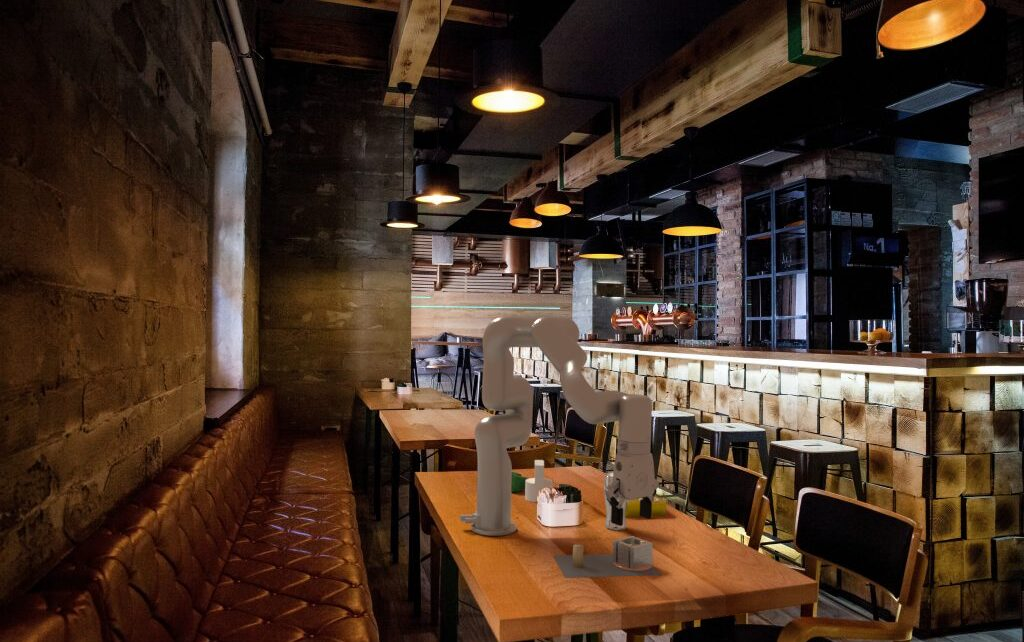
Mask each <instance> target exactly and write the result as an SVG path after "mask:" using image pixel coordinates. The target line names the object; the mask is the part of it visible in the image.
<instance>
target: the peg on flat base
mask: <svg viewBox="0 0 1024 642" xmlns="http://www.w3.org/2000/svg"><path fill="white" fill-rule="evenodd" d="M629 545H632V546H636V545H638V544H635V543H629ZM613 564H614V565H615V566H616V567H618V568H620V569H623V570H628V571H646V570H649V569H651V568H652V565H653V564H652V565H649V566H646V567H643V568H639V569H636V570H631V569H630V568H627V567H624V566H622V565H619V564H618V563H614V562H613Z"/></svg>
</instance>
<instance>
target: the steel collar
mask: <svg viewBox="0 0 1024 642" xmlns="http://www.w3.org/2000/svg"><path fill="white" fill-rule="evenodd" d="M629 543H635V544H638V545H636V546H632V545H629ZM653 545H654V544H653V542H651V541H647V540H646V539H642V538H640V537H636V536H634V535H628V536H626V537H625V536H624V537H622V538H618V539H614V540H612V554H613V562H614V563H618V564H619V565H622V566H624V567H627V568H630V569H631V570H636V569H639V568H643V567H646V566H649V565H653V548H654V547H653Z"/></svg>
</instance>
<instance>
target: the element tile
mask: <svg viewBox="0 0 1024 642" xmlns="http://www.w3.org/2000/svg"><path fill="white" fill-rule="evenodd" d="M640 499H642V498H639V499H634V500H628V501H627V506H626V512H625V518H642V517H641V516H640ZM665 516H667V501H664V499H662V498H660V497H659V496H658V495H657V494H655V496H654V501H653V502H652V517H665Z"/></svg>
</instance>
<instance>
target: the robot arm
mask: <svg viewBox="0 0 1024 642" xmlns="http://www.w3.org/2000/svg"><path fill="white" fill-rule="evenodd" d="M579 339H580V329H579V327H578V325H577V323H576V322H575V321H574V320H573V319H571V318H569V317H566V316H565V317H564V316H551V315H550V316H548V315H547V316H541V317H534V316H533V317H530V316H517V315H515V316H514V315H513V316H512V315H511V316H510V315H505V316H499V317H497V318H494V319H493V320H491V322H489V323H488V324H487V326H486V327H485V329H484V331H483V335H482V352H483V367H482V384H481V386H482V388H481V400H482V404H483V405H484V408H486V410H489V411H494V412H495V411H498V412H499V411H505V413H502V414H495V415H494V414H493V415H488V416H485V417H484V418H481V419H480V420H479V421H478V422H477V424H476V426H475V428H474V440H475V447H476V455H477V484H476V486H477V487H476V490H477V491H476V494H477V495H476V510H474V513H471V514H460V515H459V521H460V522H462V523H464V524H470V529H471V530H470V531H472V532H473V533H476V534H477V535H481V536H492V537H494V536H495V537H497V536H498V537H499V536H500V537H501V536H507V535H510V534H513V533H515V532H516V530H517V524H516V523H515V522H513V521H512V520H511V519H512V515H511V514H512V492H511V476H512V472H513V471H512V470H513V469H512V461H511V458H510V456H509V452H508V450H507V449H509V448H514V447H515V448H517V447H520V446H522V445H524V444H526V443H527V442H528V440H529V439H530V437H531V434H532V424H533V423H532V422H533V407H534V406H533V404H534V394H533V388H532V386H531V384H530V382H529V381H528V380H527V379H526V378H525V377H523V376H520V375H514V367H515V362H514V358H513V354H512V352H511V350H510V349H511V348H539V350H540V351H541V353H543V355H544V356H545V357H546V359H547V360H548V361H549V363H550V364H551V365H552V367H554V369H555V370H556V371H557V372H558V373H559V377H560V378H559V379H560V380H559V381H560V386H561V390H562V393H563V397H564V398H565V399H566V401H567V403H568V404H569V405H570V407H571V408H572V409H573V410H574V411H575V413H576V414H577V416H579V417H580V418H581V419H582V420H583V421H585V422H586V423H588V424H591V425H601V424H604V423H611V422H612V423H613V422H618V428H617V429H618V431H617V432H618V433H617V445H616V449H617V453H616V455H615V458H614V459H615V460H614V465H613V471H612V472H613V482H612V483H611V484H610V485H609V486H608V487H607V488H606V489H605V494H606V497H607V501H608V502H609V505H610V506H611V523H613V524H616V525H619V526H622V525H623V508H621V507H622V505H623V503H624V501H625V500H626V499H627V500H634V499H639V498H642V499H640V516H641V517H640V518H643V519H644V518H645V519H647V520H651V519H652V517H653V516H652V502H653V501H654V496H655V495H657V492H658V490H657V489H658V487H659V484H660V481H659V480H657V479H656V478H655V465H654V464H655V463H654V462H655V461H654V457H653V453H651V440H652V416H653V412H652V411H653V409H652V408H653V402H652V399H651V397H649V396H648V395H644V394H635V393H634V394H633V393H626V392H623V391H620V390H619V391H618V390H604V391H603V390H602V391H595V389H594V388H593V386H591V384H590V383H589V382H588V381H587V379H586V378H585V376H584V375H583V371H582V369H583V368H584V366H585V365H586V363H587V361H588V354H587V353H586V351H585V350H584V349H583V347H581V345H580V344H579V343H578V342H579ZM613 494H614V495H613ZM618 498H620V499H619V501H617V499H618ZM651 516H652V517H651Z"/></svg>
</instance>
